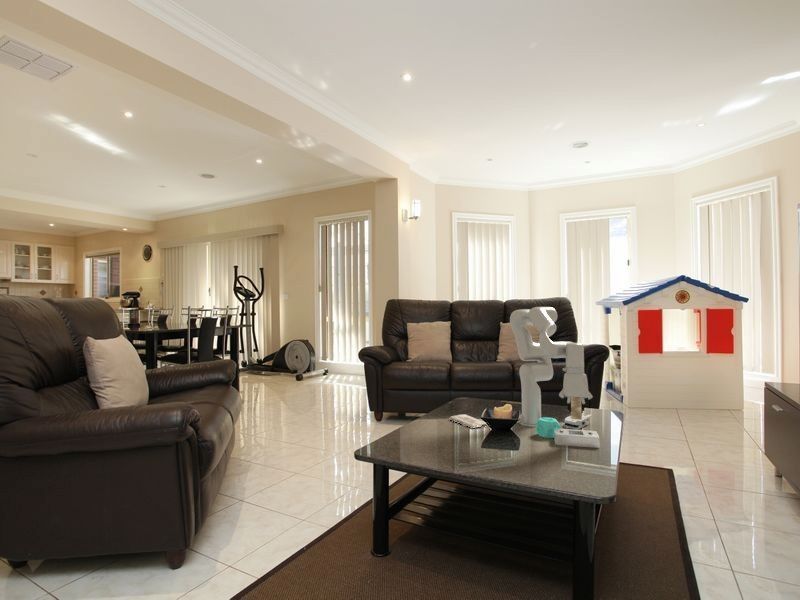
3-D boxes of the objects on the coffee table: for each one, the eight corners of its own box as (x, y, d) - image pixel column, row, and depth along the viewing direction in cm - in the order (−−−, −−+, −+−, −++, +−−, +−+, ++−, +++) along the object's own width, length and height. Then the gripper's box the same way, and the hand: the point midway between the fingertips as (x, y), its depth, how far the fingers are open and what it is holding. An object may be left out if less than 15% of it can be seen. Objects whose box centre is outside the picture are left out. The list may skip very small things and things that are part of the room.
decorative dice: (547, 439, 202) (546, 422, 202) (535, 435, 210) (535, 418, 210) (560, 437, 205) (560, 420, 205) (549, 433, 213) (548, 416, 213)
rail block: (555, 445, 194) (554, 433, 194) (554, 439, 203) (553, 427, 203) (599, 449, 188) (599, 436, 188) (596, 442, 198) (596, 430, 198)
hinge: (580, 421, 216) (560, 417, 222) (580, 430, 216) (560, 427, 222) (592, 414, 228) (572, 411, 235) (592, 423, 228) (573, 420, 235)
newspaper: (447, 421, 238) (447, 416, 238) (466, 418, 243) (466, 413, 243) (470, 431, 218) (470, 426, 218) (490, 428, 223) (490, 423, 223)
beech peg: (571, 419, 194) (570, 396, 194) (570, 416, 198) (570, 394, 198) (581, 419, 193) (581, 396, 193) (580, 417, 197) (580, 394, 197)
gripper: (555, 371, 195) (556, 413, 195) (596, 372, 190) (597, 415, 190) (554, 369, 202) (555, 409, 202) (594, 370, 197) (595, 411, 197)
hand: (575, 411), depth 196 cm, fingers closed on beech peg, 4 cm apart
